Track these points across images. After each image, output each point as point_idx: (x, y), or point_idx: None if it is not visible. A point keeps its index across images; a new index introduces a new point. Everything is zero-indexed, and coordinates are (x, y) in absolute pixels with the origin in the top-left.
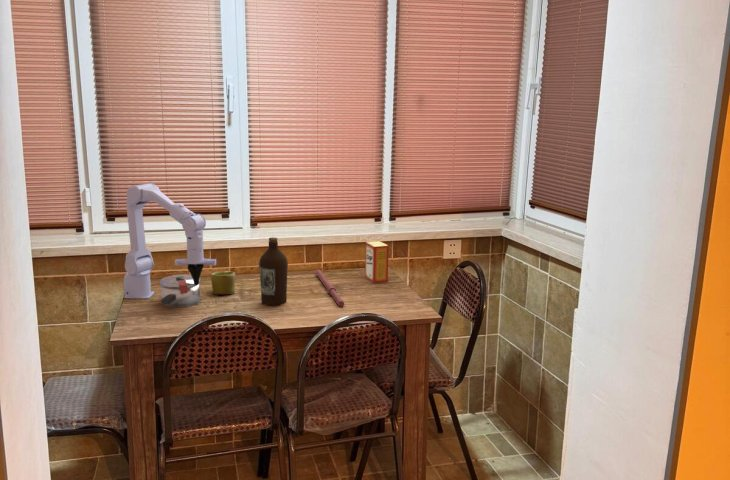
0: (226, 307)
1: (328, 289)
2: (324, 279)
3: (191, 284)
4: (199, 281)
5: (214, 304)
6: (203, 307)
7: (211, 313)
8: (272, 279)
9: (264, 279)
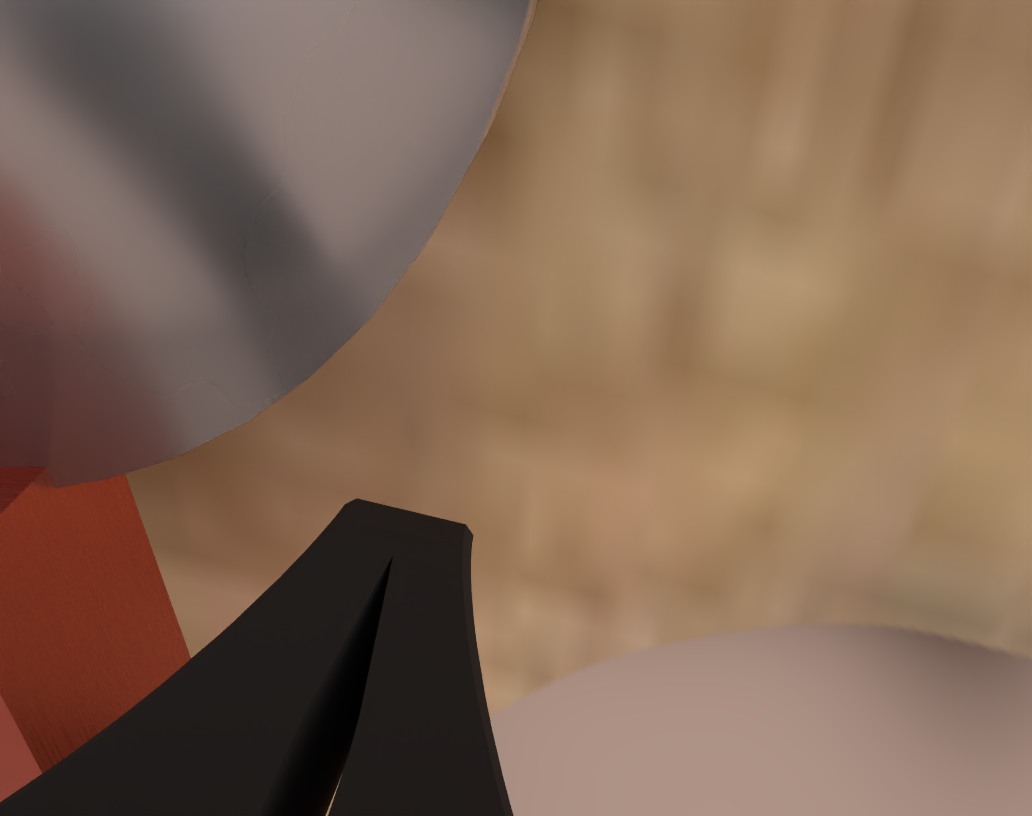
0: (983, 455)
1: None
2: None
3: (235, 419)
4: (516, 55)
5: (825, 238)
6: (594, 348)
7: (677, 622)
8: None
9: None
